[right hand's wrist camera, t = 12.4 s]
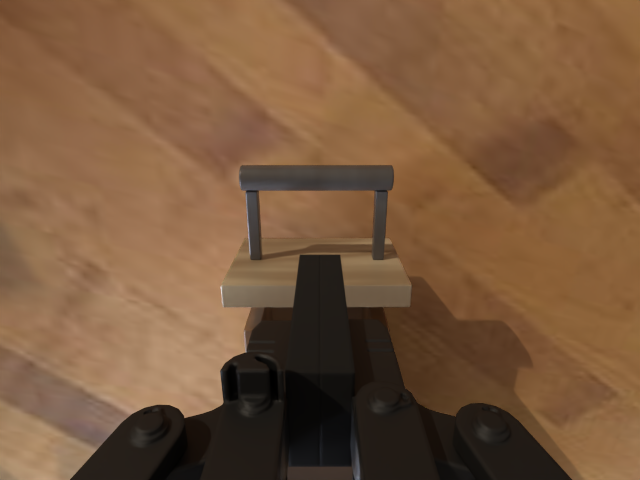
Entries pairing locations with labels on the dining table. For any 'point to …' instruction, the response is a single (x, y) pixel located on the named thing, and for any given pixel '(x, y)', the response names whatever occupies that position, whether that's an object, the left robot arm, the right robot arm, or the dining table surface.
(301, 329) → the right robot arm
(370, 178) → the drawer
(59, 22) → the dining table surface
